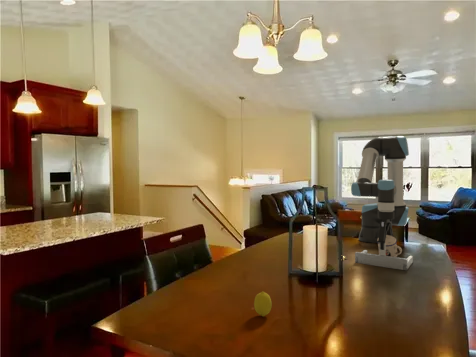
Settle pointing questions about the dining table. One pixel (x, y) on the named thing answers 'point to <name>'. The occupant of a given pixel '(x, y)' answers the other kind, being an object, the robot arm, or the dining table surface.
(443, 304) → the dining table surface
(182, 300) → the dining table surface
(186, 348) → the dining table surface
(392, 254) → the teacup with lid
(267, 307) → the lemon
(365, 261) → the aluminium dock
